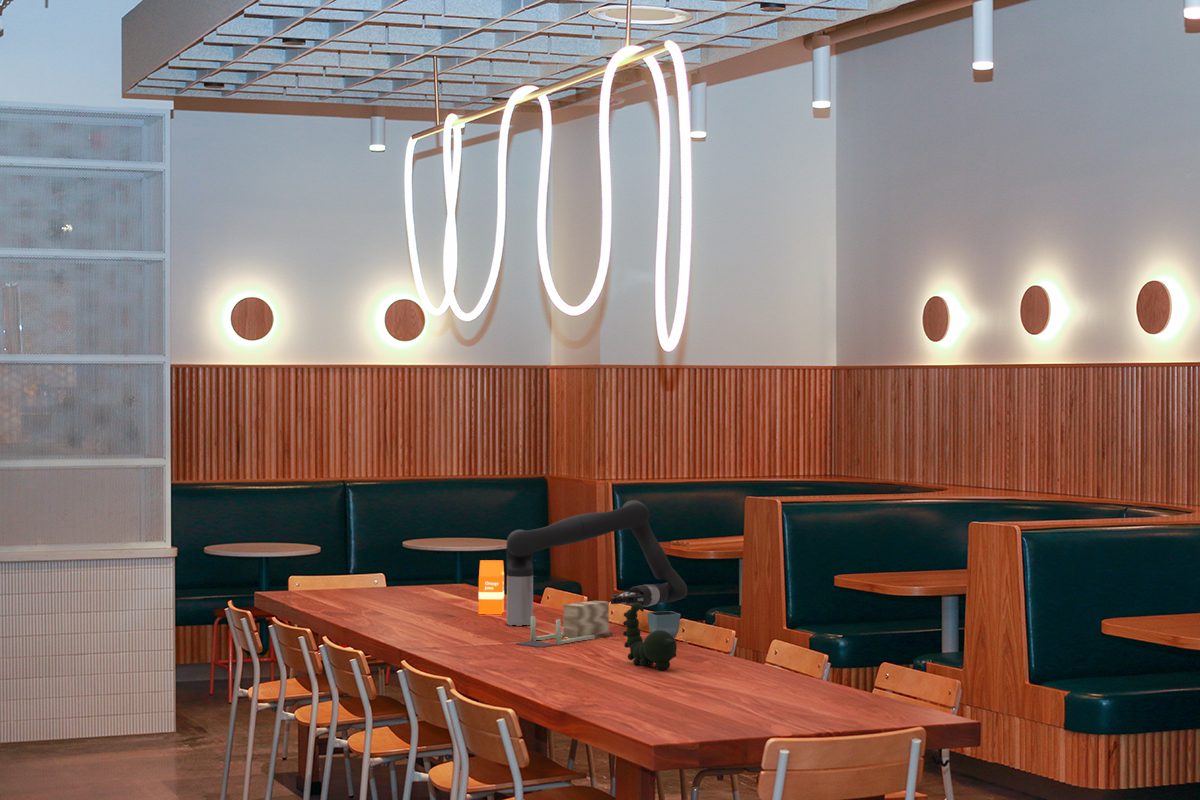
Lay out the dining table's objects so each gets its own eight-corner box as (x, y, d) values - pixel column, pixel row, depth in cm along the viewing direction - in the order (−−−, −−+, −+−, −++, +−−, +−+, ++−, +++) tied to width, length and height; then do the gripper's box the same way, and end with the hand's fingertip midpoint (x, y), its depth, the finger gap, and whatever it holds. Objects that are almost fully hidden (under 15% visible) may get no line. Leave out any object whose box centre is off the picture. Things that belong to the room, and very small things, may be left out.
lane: (583, 632, 464) (583, 628, 464) (612, 636, 456) (612, 632, 456) (566, 635, 457) (566, 631, 457) (594, 639, 449) (594, 635, 449)
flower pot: (646, 639, 449) (646, 611, 449) (671, 638, 452) (671, 610, 452) (655, 643, 441) (655, 615, 441) (681, 642, 443) (681, 614, 444)
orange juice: (502, 615, 506) (502, 561, 507) (478, 615, 507) (478, 561, 507) (504, 612, 514) (504, 559, 515) (480, 612, 514) (480, 559, 515)
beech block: (595, 633, 463) (595, 600, 463) (608, 634, 459) (608, 601, 460) (563, 638, 451) (563, 604, 451) (577, 640, 447) (577, 606, 447)
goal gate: (566, 635, 457) (566, 611, 457) (594, 639, 449) (594, 614, 449) (529, 641, 443) (529, 616, 444) (558, 645, 435) (558, 620, 435)
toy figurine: (616, 667, 404) (661, 673, 382) (614, 603, 406) (658, 604, 384) (644, 665, 409) (689, 670, 387) (641, 601, 411) (686, 602, 389)
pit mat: (530, 641, 443) (530, 640, 443) (556, 645, 436) (556, 644, 436) (515, 644, 437) (515, 643, 437) (541, 647, 430) (541, 646, 430)
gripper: (629, 583, 483) (597, 588, 470) (658, 586, 474) (627, 591, 461) (629, 605, 483) (597, 610, 469) (659, 607, 474) (627, 613, 461)
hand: (612, 601), depth 465 cm, fingers closed
